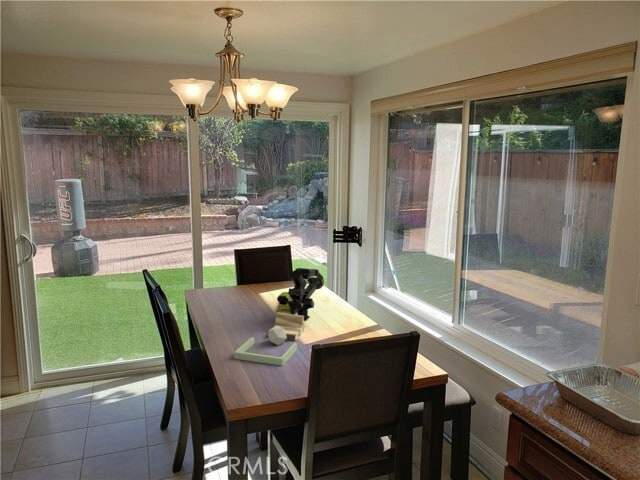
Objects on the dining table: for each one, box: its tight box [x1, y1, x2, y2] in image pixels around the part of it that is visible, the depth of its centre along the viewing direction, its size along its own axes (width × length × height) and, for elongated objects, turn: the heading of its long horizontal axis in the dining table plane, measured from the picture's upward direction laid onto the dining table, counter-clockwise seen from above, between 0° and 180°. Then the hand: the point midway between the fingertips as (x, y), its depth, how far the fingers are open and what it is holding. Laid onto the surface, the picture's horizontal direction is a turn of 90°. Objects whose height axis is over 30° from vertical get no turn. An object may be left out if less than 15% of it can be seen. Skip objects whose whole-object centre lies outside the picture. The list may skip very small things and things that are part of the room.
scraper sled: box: [267, 312, 305, 342], centre depth 231 cm, size 13×14×8 cm
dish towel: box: [276, 291, 291, 313], centre depth 281 cm, size 15×36×3 cm, turn 1°
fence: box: [233, 336, 298, 367], centre depth 209 cm, size 18×22×3 cm
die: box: [267, 324, 287, 346], centre depth 221 cm, size 8×9×10 cm
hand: (291, 316), depth 238 cm, fingers closed
